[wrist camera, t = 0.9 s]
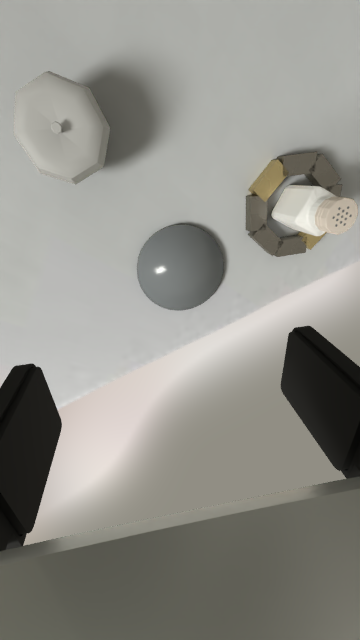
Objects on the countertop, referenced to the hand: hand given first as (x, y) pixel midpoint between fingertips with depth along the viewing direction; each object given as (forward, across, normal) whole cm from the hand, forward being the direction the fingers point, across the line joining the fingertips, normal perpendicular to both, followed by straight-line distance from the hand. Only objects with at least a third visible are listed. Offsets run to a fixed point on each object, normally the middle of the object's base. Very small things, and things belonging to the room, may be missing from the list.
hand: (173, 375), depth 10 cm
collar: (+25, -18, -2) cm, 31 cm away
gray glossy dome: (+25, -4, +4) cm, 26 cm away
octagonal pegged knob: (+25, +6, -10) cm, 28 cm away
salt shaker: (+25, -18, -2) cm, 31 cm away
